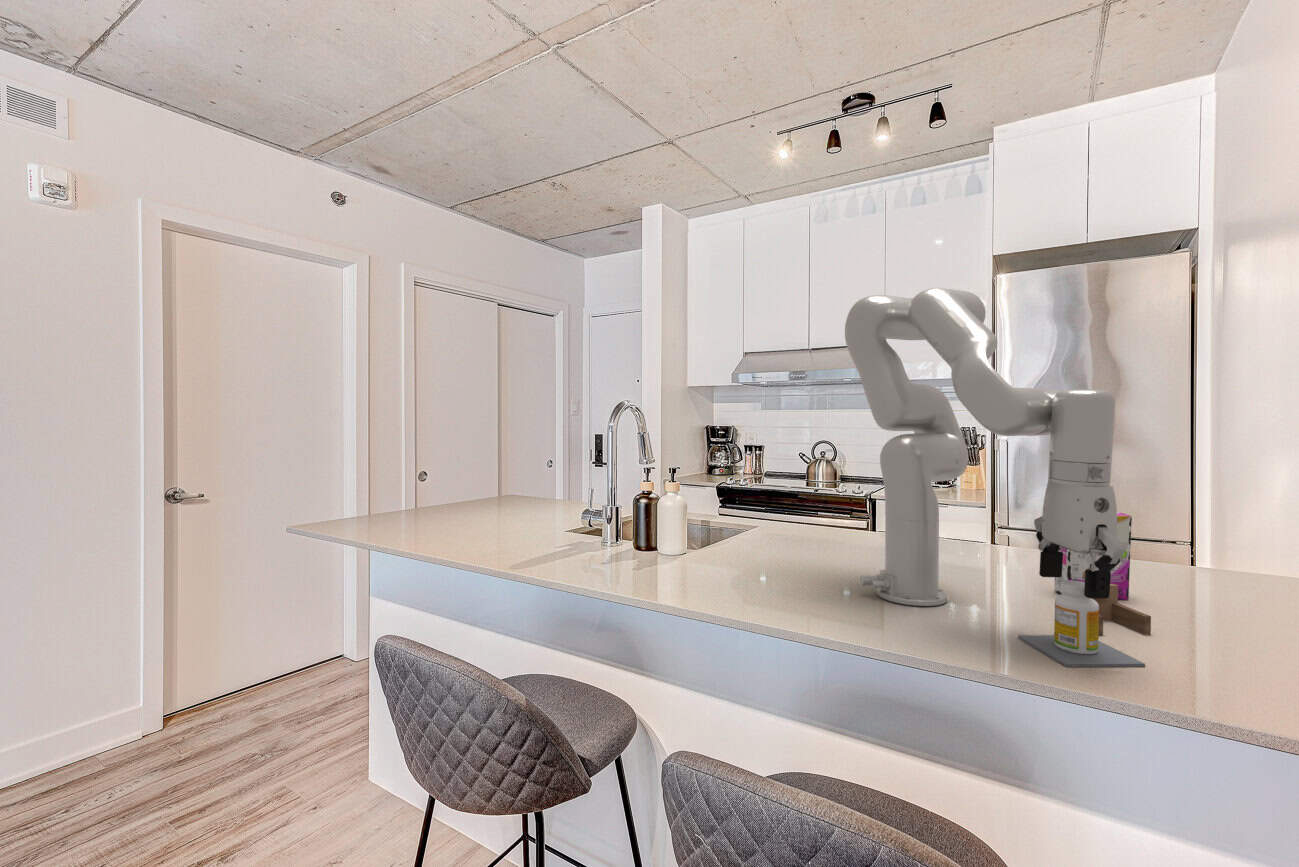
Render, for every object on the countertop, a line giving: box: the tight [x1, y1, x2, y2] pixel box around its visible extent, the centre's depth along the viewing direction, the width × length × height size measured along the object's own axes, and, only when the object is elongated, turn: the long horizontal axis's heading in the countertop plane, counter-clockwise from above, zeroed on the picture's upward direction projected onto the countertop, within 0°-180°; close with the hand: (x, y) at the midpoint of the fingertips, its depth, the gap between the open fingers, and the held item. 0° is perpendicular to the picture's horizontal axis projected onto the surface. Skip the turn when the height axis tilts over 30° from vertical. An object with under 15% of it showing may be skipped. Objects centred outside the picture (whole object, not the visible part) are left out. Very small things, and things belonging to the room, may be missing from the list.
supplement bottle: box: [1053, 580, 1100, 654], centre depth 89 cm, size 5×5×10 cm
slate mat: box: [1017, 634, 1146, 668], centre depth 89 cm, size 11×11×1 cm
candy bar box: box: [1054, 511, 1133, 601], centre depth 116 cm, size 11×5×16 cm, turn 84°
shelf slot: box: [1092, 584, 1152, 636], centre depth 99 cm, size 9×8×6 cm
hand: (1072, 586), depth 90 cm, fingers open, 9 cm apart
